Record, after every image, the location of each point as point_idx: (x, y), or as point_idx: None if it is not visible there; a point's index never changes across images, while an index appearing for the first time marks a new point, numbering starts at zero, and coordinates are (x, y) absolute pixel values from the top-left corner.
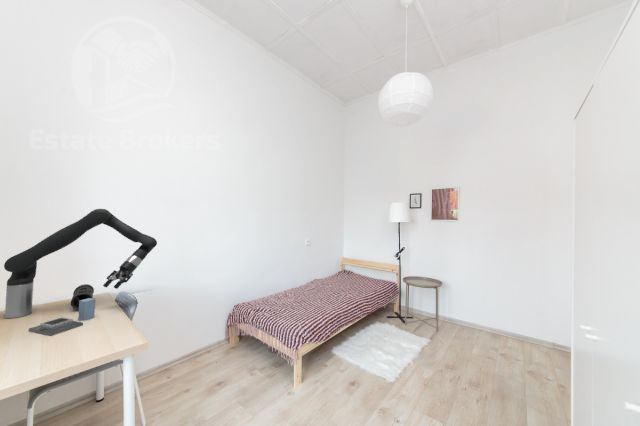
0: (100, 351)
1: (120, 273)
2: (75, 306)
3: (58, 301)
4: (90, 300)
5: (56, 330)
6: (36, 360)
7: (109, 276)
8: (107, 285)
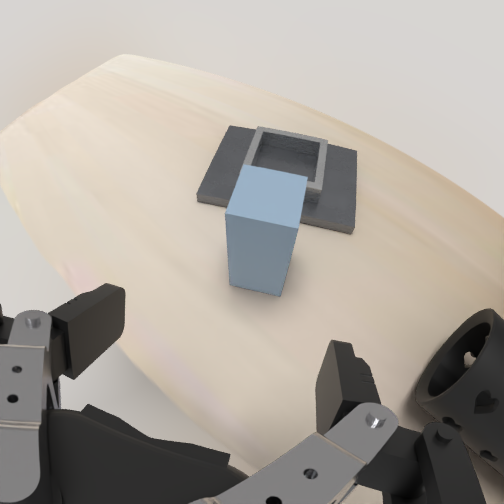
0: (42, 112)
1: (21, 436)
2: (453, 343)
3: None
4: (235, 190)
5: (232, 138)
6: (140, 77)
7: (434, 463)
8: (319, 390)
